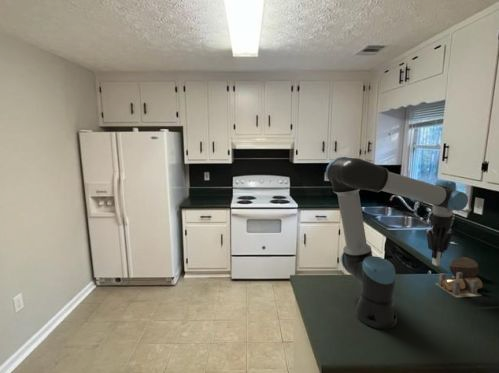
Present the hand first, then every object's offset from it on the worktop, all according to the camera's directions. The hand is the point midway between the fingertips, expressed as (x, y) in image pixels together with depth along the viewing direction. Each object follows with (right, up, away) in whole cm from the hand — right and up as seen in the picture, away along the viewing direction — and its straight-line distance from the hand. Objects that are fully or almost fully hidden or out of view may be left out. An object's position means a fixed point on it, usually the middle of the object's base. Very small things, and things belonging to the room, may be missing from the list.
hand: (435, 264), depth 128 cm
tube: (+15, -12, +3) cm, 19 cm away
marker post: (+15, -12, +9) cm, 21 cm away
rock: (+26, -12, +16) cm, 32 cm away
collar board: (+12, -14, +3) cm, 19 cm away
